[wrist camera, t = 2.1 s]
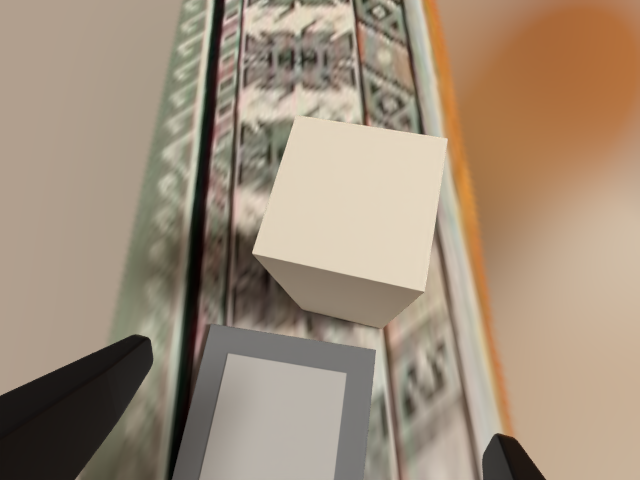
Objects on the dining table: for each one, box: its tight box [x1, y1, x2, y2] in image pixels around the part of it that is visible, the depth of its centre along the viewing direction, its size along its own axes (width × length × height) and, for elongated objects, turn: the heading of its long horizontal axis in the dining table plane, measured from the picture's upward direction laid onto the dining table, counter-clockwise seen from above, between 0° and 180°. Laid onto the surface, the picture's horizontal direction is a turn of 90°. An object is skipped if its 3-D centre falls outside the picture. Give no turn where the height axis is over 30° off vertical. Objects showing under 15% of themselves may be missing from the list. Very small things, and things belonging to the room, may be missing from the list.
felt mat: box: [172, 324, 376, 480], centre depth 19 cm, size 10×10×1 cm
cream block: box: [252, 115, 448, 329], centre depth 16 cm, size 5×5×12 cm
